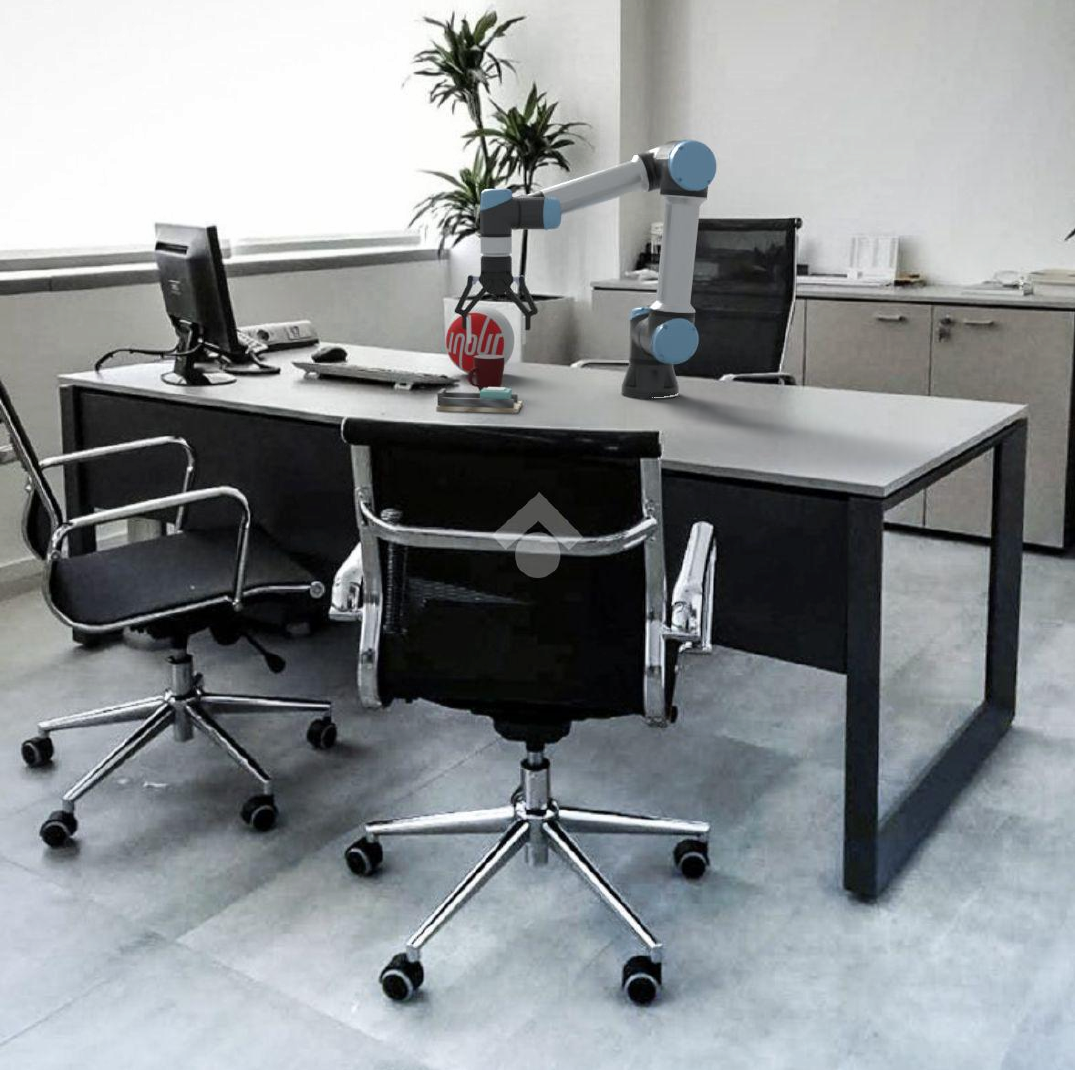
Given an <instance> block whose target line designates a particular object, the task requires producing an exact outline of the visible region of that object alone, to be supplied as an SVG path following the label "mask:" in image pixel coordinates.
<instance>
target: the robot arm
mask: <svg viewBox="0 0 1075 1070" xmlns="http://www.w3.org/2000/svg"><path fill="white" fill-rule="evenodd" d="M717 166H718V165H717V160H716V157H715V154H714V152H713V151H712V150H711V148H710V147H709V146H708V145H706V144H705V143H703V142H701V141H698V140H694V139H683V140H682V139H681V140H671V141H667V142H665V143H662V144H660V145H657V146H656V147H653V148H651V149H648V150H647V151H644V152H641V153H638V154H635V155H633V157H632V159H631V160H630V161H626V162H624V163H623V162H622V163H621V164H617V165H614V166H611V167H607V168H605V169H603V170H598V171H595V172H593V173H590V174H586V175H583V176H580V177H578V178H573V179H571V180H568V181H564V182H562V183H558V184H554V185H553V186H549V187H546V188H543V189H540V190H537V191H534V192H531V193H527V194H520V195H516V196H514V197H513V194H512V193H513V192H512V190H511V189H509V188H486V189H483V190H482V191H481V193H480V201H479V202H480V206H479V214H480V215H479V219H480V240H479V241H480V242H479V243H480V244H479V245H480V254H482V255H481V256H480V274H479V275H473V274H469V275H468V276H467V281H466V285H465V288H464V290H463V292H462V294H461V297H460V298H459V301H458V302H457V305H456V307H455V309H454V313H455V314H460V315H461V316H462V328H463V329H467V344H470V343H471V316H468V313H469V312H470V311H471V310H472V308H473V307H474V306H475V305H478V302H480V300H481V299H482V298H483V297H484V295H485V294H488V295H496V294H497V295H504V294H506V295H507V296H508V297H509V298H510V299H511V301H512V302H513V303H514V305H516V307H517V308H518V309H519V310H520V311H521V312H522V314H523V315H524V316H522V317H521V345H526V344H527V331H530V330H531V328H532V327H531V326H532V325H531V323H532V322H531V321H532V319H531V318H532V316H535V315H537V314H538V313H539V309H538V307H537V306H536V303H535V301H534V299H533V297H532V295H531V293H530V291H529V288H528V287H527V285H526V277H525V275H523V274H522V275H520V276H513V273H512V272H513V268H512V267H513V265H512V264H513V263H512V261H513V260H512V259H513V258H512V256H511V254H512V252H513V249H512V248H513V247H512V243H513V241H512V238H513V237H512V232H513V230H545V231H548V230H556V229H559V227H560V225H561V223H562V216H564V215H567V214H571V213H574V212H576V211H577V212H578V211H580V210H584V209H585V208H588V207H592V206H595V205H599V204H602V203H605V202H608V201H611V200H614V199H617V198H620V197H621V198H622V197H624V196H626V195H629V194H632V193H636V192H639V191H640V192H642V193H644V194H645V193H649V192H652V191H656V190H660V191H659V196H660V198H661V199H662V201H663V202H664V214H663V223H662V232H661V234H662V235H661V236H662V237H661V246H660V255H659V264H658V265H659V267H658V276H657V287H656V299H655V301H654V302H653V303H652V304H651V305H649V307H634V308H633V309H632V310H631V312H630V318H629V325H630V326H629V327H630V328H629V350H628V351H629V354H628V355H629V357H628V361H629V362H628V367H627V370H626V373H625V375H624V378H623V380H622V384H621V394H622V395H623V396H625V397H630V398H634V397H638V398H637V399H645V398H652V397H653V398H654V397H664V396H670V395H675V394H677V393H679V390H680V387H679V383H678V380H677V376H676V373H675V368H674V365H679V364H682V363H684V362H686V361H688V360H689V359H690V358H691V357H692V356H694V354H695V353H696V351H697V348H698V345H699V340H700V339H699V333H698V332H699V331H698V330H697V328H696V326H695V319H696V309H695V308H694V307H693V306H692V304H691V299H692V297H691V296H692V288H693V281H694V280H693V277H694V270H695V269H694V268H695V258H696V251H697V250H696V249H697V248H696V247H697V238H698V228H699V222H700V221H699V220H700V219H699V218H700V210H701V205H702V204H703V203H704V202H705V201H707V200H708V191H709V186H710V185H711V184H712V182H713V180H714V178H715V177H716V173H717ZM477 282H479V284H480V286H481V287H482V288H481V289H480V290H479V292H478V293H477V294H476V296H474V297H473V299H472V300H471V301H470V303H469V304H468V305H467V306H466V307H465V308H466V309H465V310H463V309H464V308H463V307H464V305H465V303H466V300H467V299H468V297H469V295H470V293H471V290H472V288H473V286H475V285H476V284H477ZM514 282H515V283H516V285H517V286H519V288H520V290H521V292H522V294H523V296H524V299H525V301H526V302H527V305H528V306H529V308H528V307H527V306H526V305H525V304H524V303H523V301H522V300H521V298H519V297H518V295H517V294H516V293H515V292H514V290H513V289H512V288H511V286H512V285H513V284H514ZM529 309H530V310H529ZM679 394H680V393H679Z"/></svg>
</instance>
